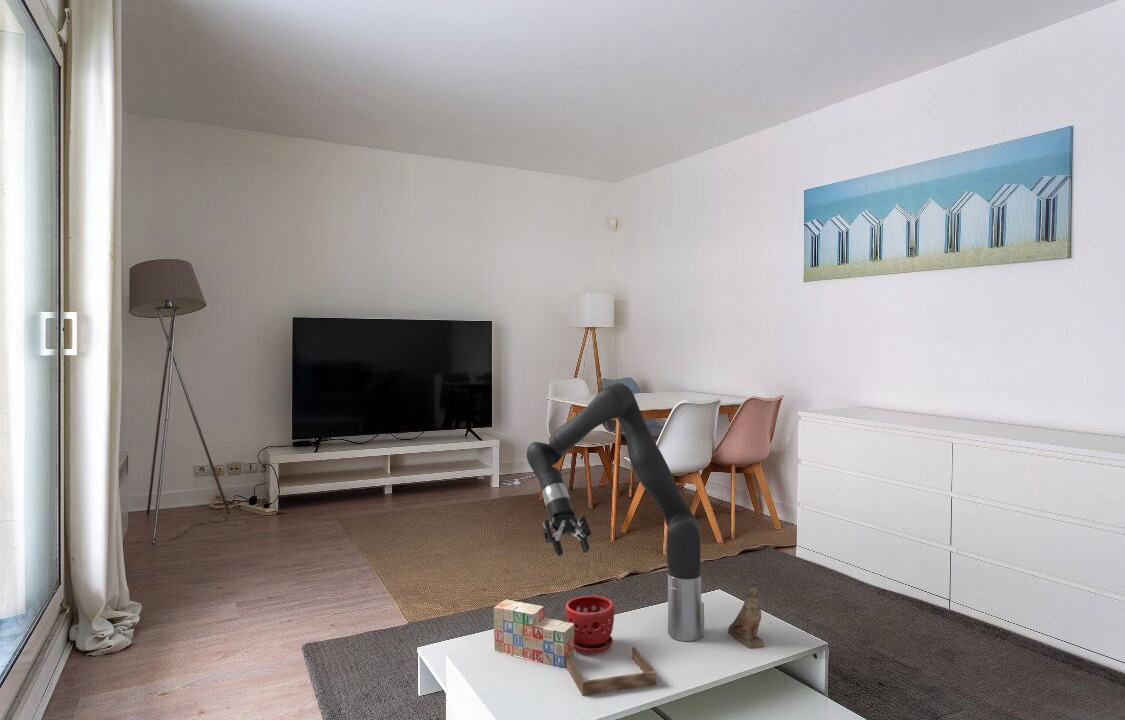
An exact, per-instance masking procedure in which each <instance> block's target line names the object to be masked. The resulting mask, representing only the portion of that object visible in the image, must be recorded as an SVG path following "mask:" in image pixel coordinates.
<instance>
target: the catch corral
mask: <svg viewBox="0 0 1125 720" xmlns="http://www.w3.org/2000/svg"><path fill="white" fill-rule="evenodd" d="M631 659H632V660H633V661H635V662H634V663H635V664H636V666H637V667H638V666H639V667H640V668H639V667H638V668H639V669H640V671H643V672H638V673H632V674H631V673H630V674H624V675H617V676H610V677H602V678H596V679H595V678H594V679H588V680H585V679H584V677H583V675H582V673H581V672H580V671H579V669H578V667H577V666H576V664H575V663H574V660H572V659H571V657H570V656H569V655H568V656H566V667H565V668H566V670H567V671H568V673H569V675H570V677H571V678H572V680H573V682H574V683H575V685H576V687H577V689H578V690H579V692H580V693H581V696H582V697H583V696H584V697H585V696H590V695H595V694H596V693H598V694H602V692H604V693H608V692H607V691H611V692H614V691H613V690H618V691H623V690H622V689H625V690H630V689H629V688H631V689H638V688H643V687H650V686H657V671H656V670H655V669H654V668H653V666H652V665H651V664H650V663H649V662H648V661H647V659H646V658H645V657H644V656H643V654H641V652H640V651H639V650H638V649H637V647H636V646H632V647H631ZM637 687H638V688H637Z"/></svg>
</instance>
